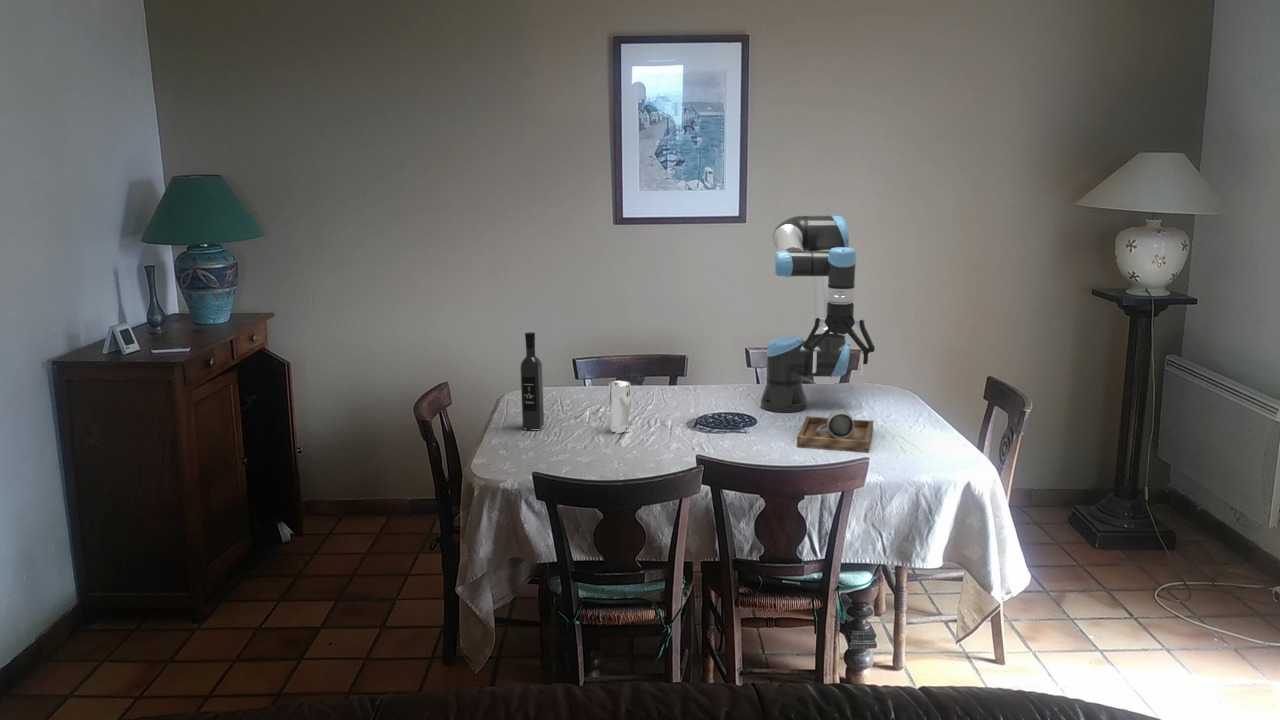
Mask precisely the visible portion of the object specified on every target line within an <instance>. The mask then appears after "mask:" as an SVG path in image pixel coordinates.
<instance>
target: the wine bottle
mask: <svg viewBox="0 0 1280 720" xmlns="http://www.w3.org/2000/svg"><path fill="white" fill-rule="evenodd" d="M524 339H525V351H526V352H525V355H526V356H525V357H524V358H523V359H522V361H521V364H520V369H519V370H520V388H521V389H520V390H521V392H520V393H521V394H520V395H521V413H522V414H521V415H522V417H521V419H522V429H523V428H526V429H540V428H541V427H542V426H543V425H544V426H545V418H544V414H545V413H544V411H545V410H544V390H543V389H544V388H543V387H544V383H543V365H542V362H541V360H540V358H539V357H537V356H536V341H535V340H536V333H535V332H533V331H532V332H528V331H527V332H525V333H524ZM544 426H543V427H544ZM543 427H542V428H543ZM542 428H541V429H542ZM541 429H540V430H541Z"/></svg>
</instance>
